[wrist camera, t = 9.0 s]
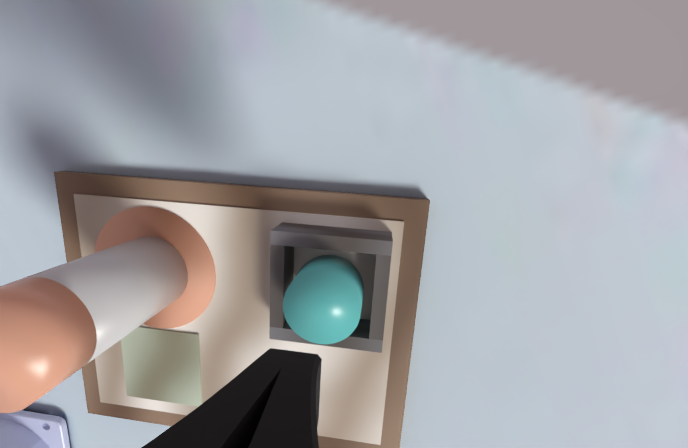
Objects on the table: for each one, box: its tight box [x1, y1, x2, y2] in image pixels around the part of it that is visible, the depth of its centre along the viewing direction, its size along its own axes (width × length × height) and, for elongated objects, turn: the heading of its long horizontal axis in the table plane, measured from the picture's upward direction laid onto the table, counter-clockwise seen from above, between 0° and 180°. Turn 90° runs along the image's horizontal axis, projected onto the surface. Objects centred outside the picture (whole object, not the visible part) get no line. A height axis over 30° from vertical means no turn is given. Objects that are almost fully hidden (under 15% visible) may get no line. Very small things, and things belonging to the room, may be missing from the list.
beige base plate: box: [54, 171, 430, 448], centre depth 16 cm, size 18×14×2 cm
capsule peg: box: [0, 236, 188, 413], centre depth 13 cm, size 4×4×7 cm
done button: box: [283, 255, 364, 344], centre depth 13 cm, size 3×3×2 cm
